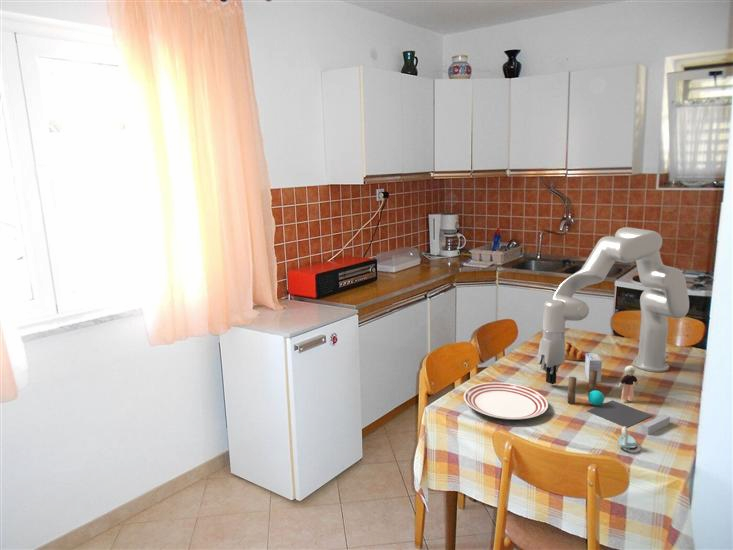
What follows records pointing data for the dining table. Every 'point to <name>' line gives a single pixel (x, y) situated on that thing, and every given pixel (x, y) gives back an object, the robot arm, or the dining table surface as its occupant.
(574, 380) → the post far
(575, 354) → the croissant
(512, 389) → the dinner plate
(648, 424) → the wall
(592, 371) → the post near arm
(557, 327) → the robot arm
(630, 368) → the grandmother figurine
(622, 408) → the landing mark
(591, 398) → the ball
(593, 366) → the medicine box
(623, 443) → the pacifier
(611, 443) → the dining table surface
